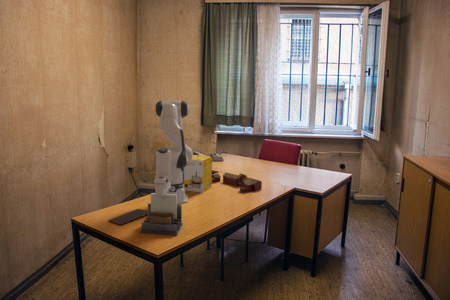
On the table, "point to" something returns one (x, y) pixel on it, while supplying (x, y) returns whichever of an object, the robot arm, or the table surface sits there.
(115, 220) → the smartphone
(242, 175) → the toy houses
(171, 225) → the rack
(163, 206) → the white thin panel
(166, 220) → the offcut front
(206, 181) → the packaging box
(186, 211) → the table surface
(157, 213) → the block
